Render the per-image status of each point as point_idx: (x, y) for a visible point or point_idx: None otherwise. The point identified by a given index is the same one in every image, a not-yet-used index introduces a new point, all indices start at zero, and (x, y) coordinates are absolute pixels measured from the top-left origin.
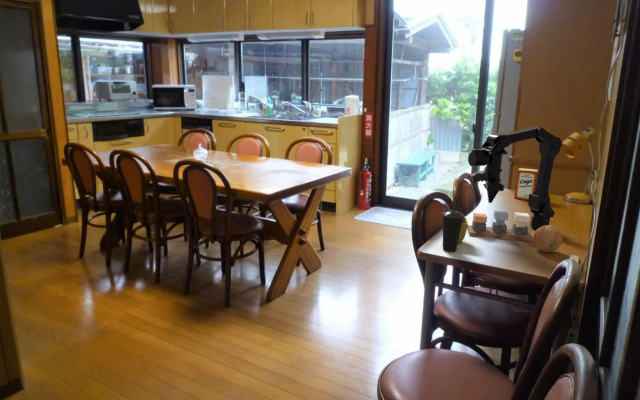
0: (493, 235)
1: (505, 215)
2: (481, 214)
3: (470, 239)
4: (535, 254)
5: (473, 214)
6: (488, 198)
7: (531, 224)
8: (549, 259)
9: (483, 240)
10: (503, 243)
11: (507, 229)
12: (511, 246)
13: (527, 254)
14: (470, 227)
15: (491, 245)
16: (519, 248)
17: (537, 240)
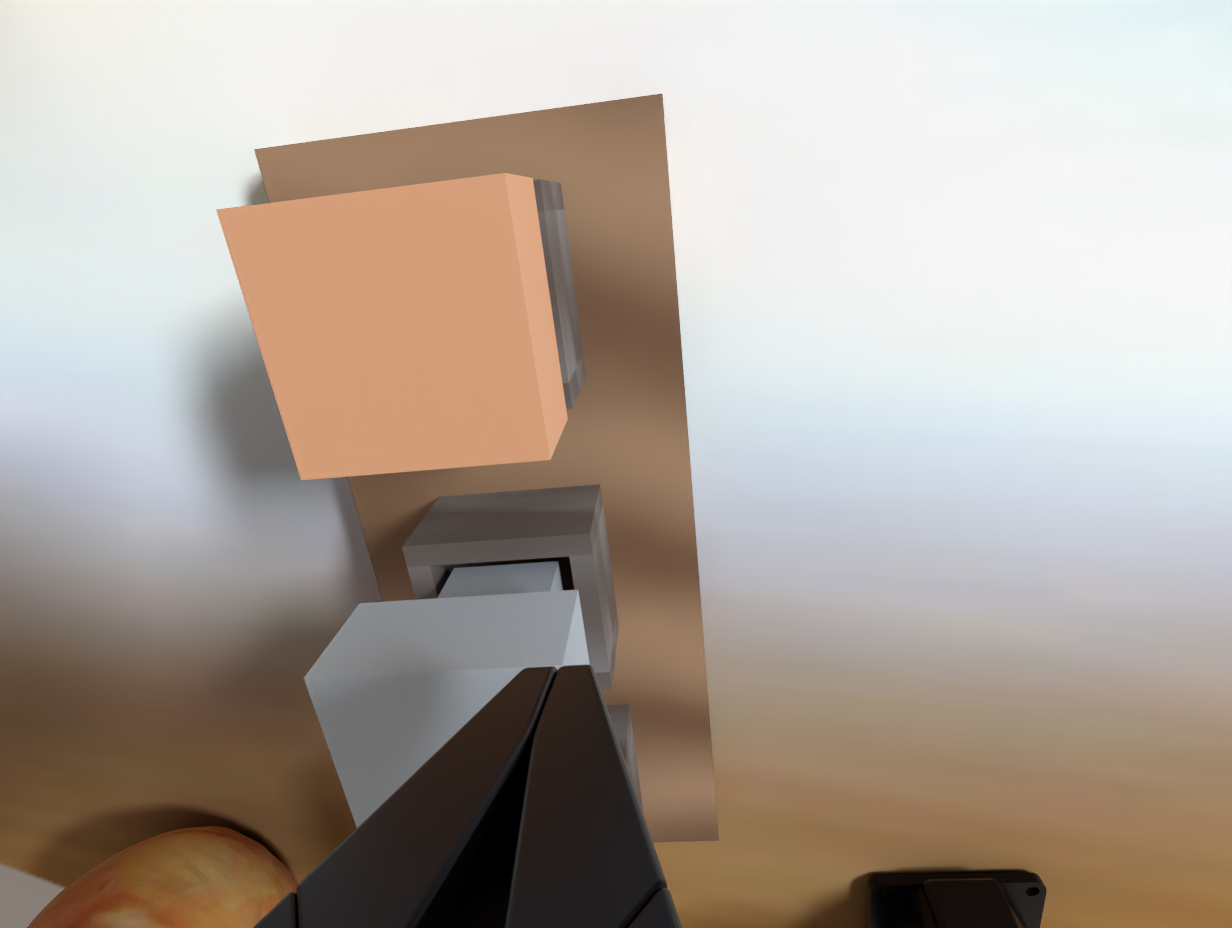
0: (356, 485)
1: (364, 805)
2: (462, 370)
3: (137, 174)
4: (99, 782)
5: (486, 177)
6: (436, 767)
7: (943, 908)
8: (51, 850)
9: (206, 352)
10: (238, 565)
11: (661, 661)
12: (188, 629)
13: (50, 727)
14: (533, 158)
15: (78, 437)
16: (175, 688)
17: (48, 905)
